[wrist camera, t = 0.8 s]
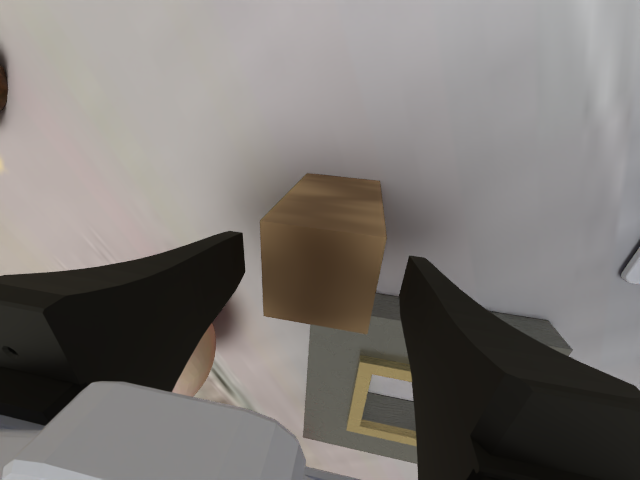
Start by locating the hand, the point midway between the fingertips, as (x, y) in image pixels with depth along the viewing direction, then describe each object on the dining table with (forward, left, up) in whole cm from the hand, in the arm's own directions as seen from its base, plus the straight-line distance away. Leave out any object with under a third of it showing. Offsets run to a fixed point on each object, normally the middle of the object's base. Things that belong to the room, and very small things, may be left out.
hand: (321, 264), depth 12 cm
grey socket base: (-7, +14, -7) cm, 17 cm away
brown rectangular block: (0, 0, -7) cm, 7 cm away
